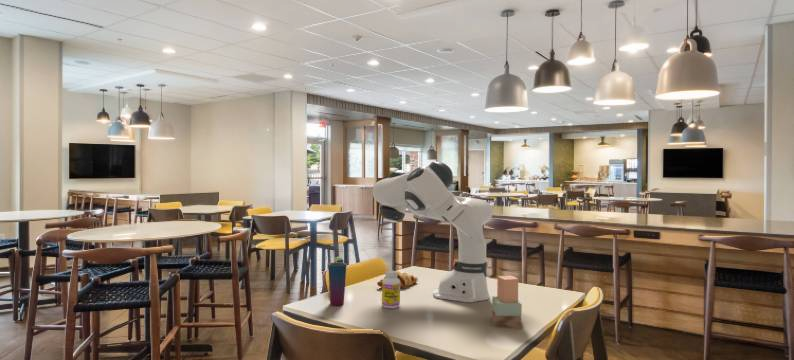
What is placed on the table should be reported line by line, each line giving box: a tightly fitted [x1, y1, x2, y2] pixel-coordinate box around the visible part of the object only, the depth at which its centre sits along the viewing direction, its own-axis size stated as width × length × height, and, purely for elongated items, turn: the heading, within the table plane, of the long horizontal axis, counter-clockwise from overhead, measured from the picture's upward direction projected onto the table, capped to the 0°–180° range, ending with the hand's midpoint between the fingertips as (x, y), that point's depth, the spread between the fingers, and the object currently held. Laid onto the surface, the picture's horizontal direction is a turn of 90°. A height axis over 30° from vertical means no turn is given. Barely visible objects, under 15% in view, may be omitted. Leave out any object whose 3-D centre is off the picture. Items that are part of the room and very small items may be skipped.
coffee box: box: [334, 256, 344, 263], centre depth 188 cm, size 8×3×13 cm, turn 15°
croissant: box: [376, 271, 419, 289], centre depth 195 cm, size 21×10×8 cm, turn 126°
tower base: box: [491, 309, 522, 330], centre depth 149 cm, size 9×9×4 cm
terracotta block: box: [496, 275, 519, 303], centre depth 149 cm, size 5×5×8 cm
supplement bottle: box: [381, 269, 401, 309], centre depth 165 cm, size 7×7×13 cm
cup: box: [327, 261, 347, 307], centre depth 167 cm, size 7×7×15 cm
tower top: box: [491, 296, 523, 317], centre depth 149 cm, size 8×8×4 cm
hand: (476, 239), depth 144 cm, fingers open, 8 cm apart
